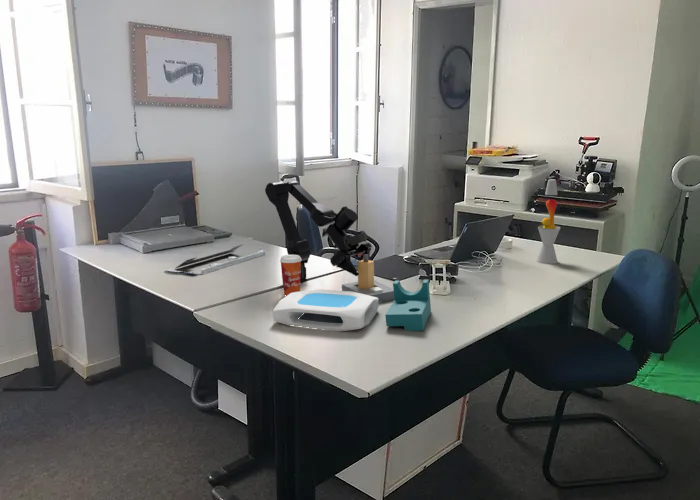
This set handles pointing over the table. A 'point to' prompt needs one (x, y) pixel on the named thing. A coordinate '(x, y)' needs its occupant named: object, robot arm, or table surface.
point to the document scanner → (327, 309)
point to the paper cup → (291, 273)
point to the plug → (365, 273)
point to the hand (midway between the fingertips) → (365, 272)
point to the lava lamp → (549, 228)
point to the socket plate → (372, 290)
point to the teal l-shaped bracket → (409, 307)
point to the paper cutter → (217, 266)
